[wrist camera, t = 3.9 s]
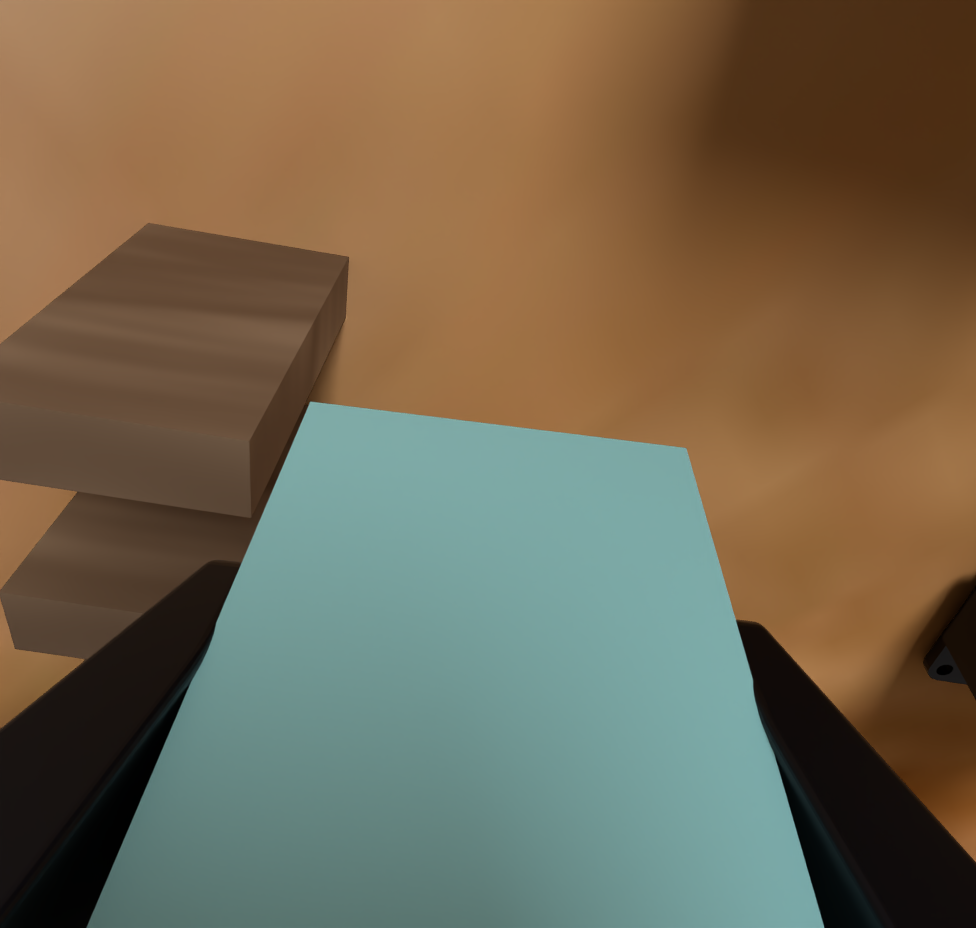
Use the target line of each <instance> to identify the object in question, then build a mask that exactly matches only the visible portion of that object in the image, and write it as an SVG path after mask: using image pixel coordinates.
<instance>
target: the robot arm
mask: <svg viewBox="0 0 976 928" xmlns="http://www.w3.org/2000/svg"><path fill="white" fill-rule="evenodd" d="M241 564H242V562H235V561H226V560H212V561H209V562H207V563H206V564H204V565H203V566H202V567H201V568H199V569H198V570H197V571H196V572H194V573H193V574H192V575H191V576H189V577H188V578H187V579H186V580H185V581H183V582H182V583H181V584H180V585H178V586H177V587H176V588H175V589H173V590H172V591H171V592H170V593H168V594H167V595H166V596H165V597H163V598H162V599H161V600H160V601H158V602H157V603H156V604H155V605H154V606H152V607H151V608H150V609H149V610H147V611H146V612H145V613H144V614H142V615H141V616H140V617H139V618H137V619H136V620H135V621H134V622H132V623H131V624H130V625H129V626H127V627H126V628H125V629H124V630H122V631H121V632H120V633H119V634H118V635H116V636H115V637H114V638H113V639H111V640H110V641H109V642H108V643H106V644H105V645H104V646H103V647H101V648H100V649H99V650H98V651H96V652H95V653H94V654H93V655H91V656H90V657H89V658H88V659H86V660H85V661H84V662H83V663H82V664H80V665H79V666H78V667H77V668H75V669H74V670H73V671H72V672H70V673H69V674H68V675H67V676H65V677H64V678H63V679H62V680H60V681H59V682H58V683H57V684H55V685H54V686H53V687H52V688H51V689H49V690H48V691H47V692H46V693H44V694H43V695H42V696H41V697H39V698H38V699H37V700H36V701H34V702H33V703H32V704H31V705H29V706H28V707H27V708H26V709H24V710H23V711H22V712H21V713H19V714H18V715H17V716H16V717H15V718H13V719H12V720H11V721H10V722H8V723H7V724H6V725H5V726H3V727H2V728H1V729H0V928H87V925H88V923H89V921H90V918H91V916H92V914H93V911H94V909H95V907H96V904H97V902H98V899H99V897H100V895H101V892H102V890H103V888H104V885H105V883H106V881H107V878H108V876H109V874H110V871H111V869H112V867H113V864H114V862H115V860H116V857H117V855H118V852H119V850H120V848H121V845H122V843H123V841H124V838H125V836H126V834H127V831H128V829H129V827H130V824H131V822H132V820H133V817H134V815H135V813H136V810H137V808H138V806H139V803H140V801H141V798H142V796H143V794H144V791H145V789H146V787H147V784H148V782H149V780H150V777H151V775H152V773H153V770H154V768H155V766H156V763H157V761H158V759H159V756H160V754H161V751H162V749H163V747H164V744H165V742H166V740H167V737H168V735H169V733H170V730H171V728H172V726H173V723H174V721H175V719H176V716H177V714H178V712H179V709H180V707H181V704H182V702H183V700H184V697H185V695H186V693H187V690H188V688H189V686H190V683H191V681H192V679H193V678H194V676H195V674H196V672H197V670H198V669H199V667H200V665H201V663H202V662H203V659H204V657H205V655H206V653H207V651H208V648H209V646H210V643H211V641H212V638H213V635H214V632H215V627H216V622H217V620H218V618H219V615H220V613H221V611H222V608H223V606H224V603H225V601H226V599H227V596H228V594H229V592H230V589H231V587H232V585H233V582H234V580H235V578H236V575H237V573H238V571H239V568H240V566H241ZM736 623H737V626H738V630H739V633H740V637H741V640H742V644H743V647H744V651H745V654H746V658H747V661H748V665H749V668H750V672H751V675H752V678H753V691H754V697H755V702H756V706H757V709H758V713H759V717H760V720H761V723H762V725H763V728H764V730H765V733H766V735H767V738H768V740H769V743H770V745H771V748H772V750H773V752H774V755H775V758H776V762H777V765H778V769H779V772H780V776H781V779H782V783H783V786H784V790H785V793H786V796H787V800H788V803H789V807H790V810H791V814H792V817H793V821H794V824H795V828H796V831H797V835H798V838H799V842H800V845H801V849H802V852H803V856H804V859H805V862H806V866H807V869H808V873H809V876H810V880H811V883H812V887H813V890H814V894H815V897H816V901H817V904H818V908H819V911H820V915H821V918H822V921H823V925H824V928H976V862H975V861H974V860H973V859H972V858H971V856H970V855H969V854H968V853H967V852H966V851H965V850H964V849H963V847H962V846H961V845H960V844H959V843H958V842H957V841H956V840H955V839H954V837H953V836H952V835H951V834H950V833H949V832H948V831H947V830H946V829H945V827H944V826H943V825H942V824H941V823H940V822H939V821H938V820H937V819H936V817H935V816H934V815H933V814H932V813H931V812H930V811H929V810H928V809H927V807H926V806H925V805H924V804H923V803H922V802H921V801H920V800H919V799H918V797H917V796H916V795H915V794H914V793H913V792H912V791H911V790H910V789H909V787H908V786H907V785H906V784H905V783H904V782H903V781H902V780H901V779H900V777H899V776H898V775H897V774H896V773H895V772H894V771H893V770H892V769H891V767H890V766H889V765H888V764H887V763H886V762H885V761H884V760H883V758H882V757H881V756H880V755H879V754H878V753H877V752H876V751H875V750H874V748H873V747H872V746H871V745H870V744H869V743H868V742H867V741H866V740H865V738H864V737H863V736H862V735H861V734H860V733H859V732H858V731H857V730H856V728H855V727H854V726H853V725H852V724H851V723H850V722H849V721H848V720H847V718H846V717H845V716H844V715H843V714H842V713H841V712H840V711H839V710H838V708H837V707H836V706H835V705H834V704H833V703H832V702H831V701H830V700H829V698H828V697H827V696H826V695H825V694H824V693H823V692H822V691H821V690H820V688H819V687H818V686H817V685H816V684H815V683H814V682H813V681H812V680H811V678H810V677H809V676H808V675H807V674H806V673H805V672H804V671H803V669H802V668H801V667H800V666H799V665H798V664H797V663H796V662H795V661H794V659H793V658H792V657H791V656H790V655H789V654H788V653H787V652H786V651H785V649H784V648H783V647H782V646H781V645H780V644H779V643H778V642H777V641H776V639H775V638H774V637H773V636H772V635H771V634H770V633H769V632H768V631H767V629H766V628H764V627H763V626H762V625H761V624H759V623H757V622H752V621H744V620H736ZM923 664H924V667H925V669H926V671H927V673H928V675H929V676H930V677H931V678H932V679H935V680H940V681H947V682H954V683H960V684H967V685H968V687H969V688H970V690H971V692H972V694H973V696H974V698H975V699H976V588H975V589H974V590H973V592H972V593H971V595H970V596H969V597H968V599H967V600H966V602H965V603H964V604H963V606H962V607H961V608H960V610H959V611H958V613H957V614H956V615H955V617H954V618H953V620H952V621H951V622H950V624H949V625H948V626H947V628H946V629H945V631H944V632H943V633H942V635H941V636H940V638H939V639H938V640H937V642H936V643H935V645H934V646H933V647H932V649H931V650H930V651H929V653H928V654H927V656H926V657H925V659H924V661H923Z"/></svg>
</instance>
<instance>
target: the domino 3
mask: <svg viewBox="0 0 976 928" xmlns="http://www.w3.org/2000/svg"><path fill="white" fill-rule="evenodd" d="M87 928H824V925H823V921H822V918H821V915H820V911H819V908H818V904H817V901H816V897H815V894H814V890H813V887H812V883H811V880H810V876H809V873H808V869H807V866H806V862H805V859H804V856H803V852H802V849H801V845H800V842H799V838H798V835H797V831H796V828H795V824H794V821H793V817H792V814H791V810H790V807H789V803H788V800H787V796H786V793H785V790H784V786H783V783H782V779H781V776H780V772H779V769H778V765H777V762H776V758H775V755H774V752H773V750H772V748H771V745H770V743H769V740H768V738H767V735H766V733H765V730H764V728H763V725H762V723H761V720H760V717H759V713H758V709H757V706H756V702H755V697H754V691H753V678H752V675H751V672H750V668H749V665H748V661H747V658H746V654H745V651H744V647H743V644H742V640H741V637H740V633H739V630H738V626H737V623H736V619H735V616H734V613H733V609H732V606H731V602H730V599H729V595H728V592H727V588H726V585H725V581H724V578H723V574H722V571H721V567H720V564H719V560H718V557H717V554H716V550H715V547H714V543H713V540H712V536H711V533H710V529H709V526H708V522H707V519H706V515H705V512H704V508H703V505H702V501H701V498H700V495H699V491H698V488H697V484H696V481H695V477H694V474H693V470H692V467H691V463H690V460H689V456H688V453H687V449H686V448H681V447H673V446H665V445H657V444H649V443H641V442H633V441H625V440H617V439H608V438H600V437H592V436H584V435H576V434H568V433H560V432H552V431H544V430H536V429H528V428H520V427H511V426H503V425H495V424H487V423H479V422H471V421H463V420H455V419H447V418H439V417H431V416H423V415H414V414H406V413H398V412H390V411H382V410H374V409H366V408H358V407H350V406H342V405H334V404H326V403H317V402H310V404H309V406H308V409H307V411H306V413H305V416H304V418H303V420H302V423H301V425H300V427H299V430H298V432H297V434H296V437H295V439H294V441H293V444H292V446H291V448H290V451H289V453H288V455H287V458H286V460H285V463H284V465H283V467H282V470H281V472H280V474H279V477H278V479H277V481H276V484H275V486H274V488H273V491H272V493H271V495H270V498H269V500H268V502H267V505H266V507H265V510H264V512H263V514H262V517H261V519H260V521H259V524H258V526H257V528H256V531H255V533H254V535H253V538H252V540H251V542H250V545H249V547H248V549H247V552H246V554H245V557H244V559H243V561H242V564H241V566H240V568H239V571H238V573H237V575H236V578H235V580H234V582H233V585H232V587H231V589H230V592H229V594H228V596H227V599H226V601H225V603H224V606H223V608H222V611H221V613H220V615H219V618H218V620H217V622H216V627H215V632H214V635H213V638H212V641H211V643H210V646H209V648H208V651H207V653H206V655H205V657H204V659H203V662H202V663H201V665H200V667H199V669H198V670H197V672H196V674H195V676H194V678H193V679H192V681H191V683H190V686H189V688H188V690H187V693H186V695H185V697H184V700H183V702H182V704H181V707H180V709H179V712H178V714H177V716H176V719H175V721H174V723H173V726H172V728H171V730H170V733H169V735H168V737H167V740H166V742H165V744H164V747H163V749H162V751H161V754H160V756H159V759H158V761H157V763H156V766H155V768H154V770H153V773H152V775H151V777H150V780H149V782H148V784H147V787H146V789H145V791H144V794H143V796H142V798H141V801H140V803H139V806H138V808H137V810H136V813H135V815H134V817H133V820H132V822H131V824H130V827H129V829H128V831H127V834H126V836H125V838H124V841H123V843H122V845H121V848H120V850H119V852H118V855H117V857H116V860H115V862H114V864H113V867H112V869H111V871H110V874H109V876H108V878H107V881H106V883H105V885H104V888H103V890H102V892H101V895H100V897H99V899H98V902H97V904H96V907H95V909H94V911H93V914H92V916H91V918H90V921H89V923H88V925H87Z"/></svg>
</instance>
